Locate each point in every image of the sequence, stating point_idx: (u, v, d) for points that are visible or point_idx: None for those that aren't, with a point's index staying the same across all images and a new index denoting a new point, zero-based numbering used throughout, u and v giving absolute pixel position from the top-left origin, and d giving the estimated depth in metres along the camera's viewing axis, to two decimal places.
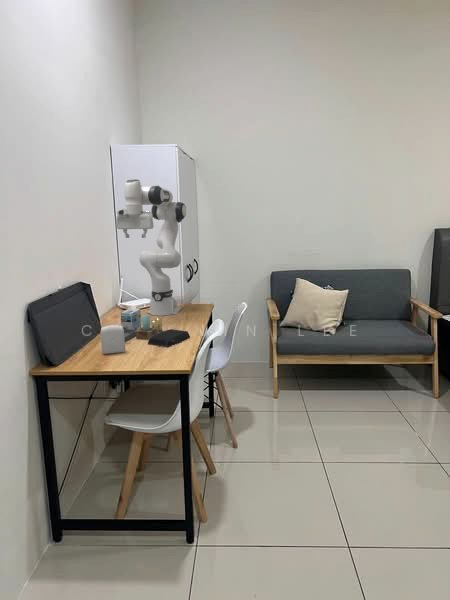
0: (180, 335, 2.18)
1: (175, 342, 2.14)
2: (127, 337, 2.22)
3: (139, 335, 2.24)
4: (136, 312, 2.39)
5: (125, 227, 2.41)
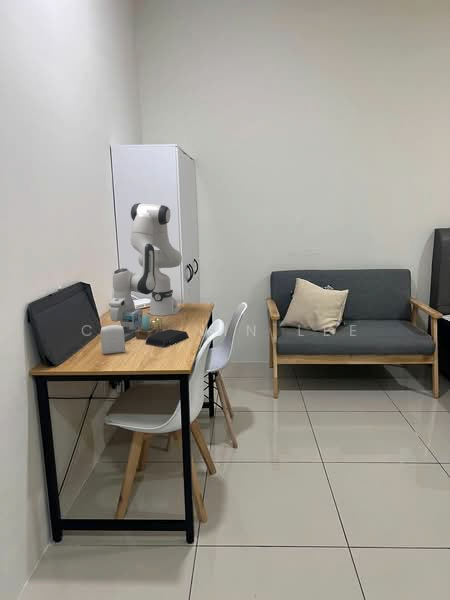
0: (178, 335, 2.18)
1: (172, 342, 2.14)
2: (127, 337, 2.22)
3: (139, 335, 2.24)
4: (138, 312, 2.38)
5: (122, 317, 2.34)
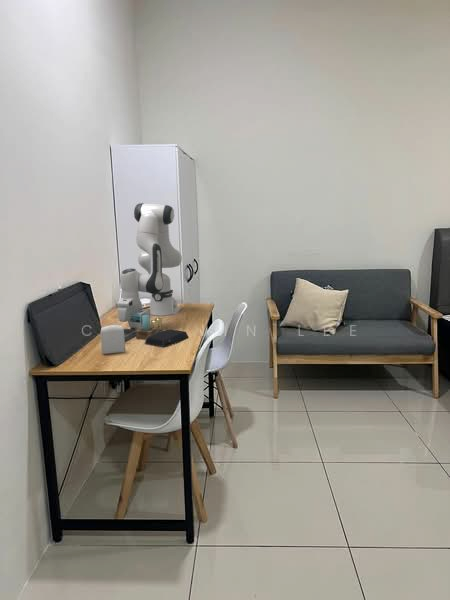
0: (177, 335, 2.18)
1: (172, 342, 2.14)
2: (127, 337, 2.22)
3: (139, 335, 2.24)
4: (146, 312, 2.37)
5: (130, 318, 2.33)
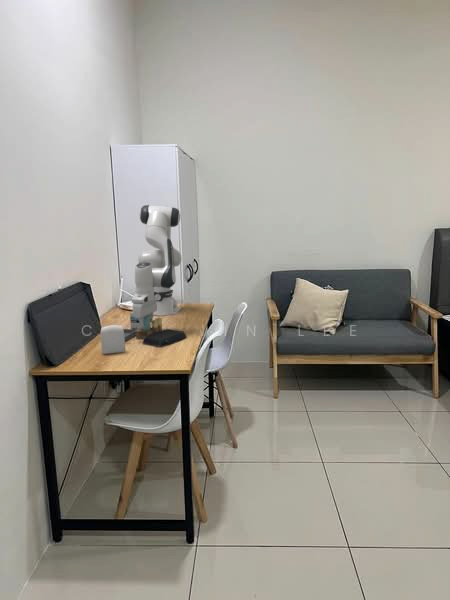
0: (175, 335, 2.18)
1: (169, 342, 2.14)
2: (127, 337, 2.22)
3: (139, 335, 2.24)
4: None
5: (145, 315, 2.20)
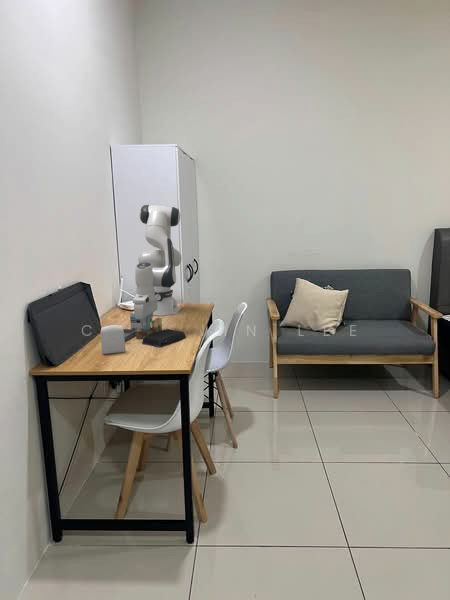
0: (175, 335, 2.18)
1: (169, 342, 2.14)
2: (127, 337, 2.22)
3: (139, 335, 2.24)
4: None
5: (146, 315, 2.21)
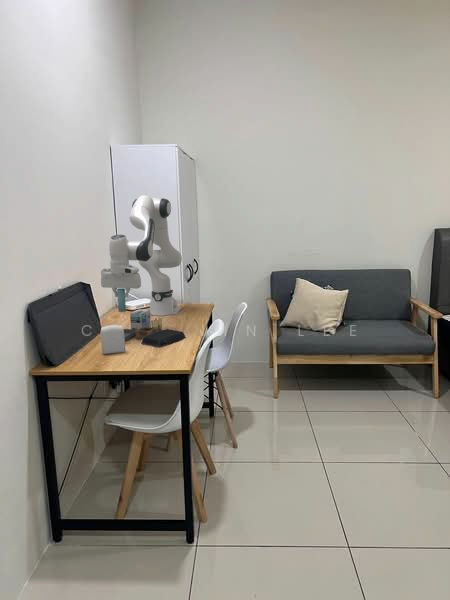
0: (174, 335, 2.18)
1: (168, 342, 2.14)
2: (127, 337, 2.22)
3: (139, 335, 2.24)
4: (146, 313, 2.37)
5: None
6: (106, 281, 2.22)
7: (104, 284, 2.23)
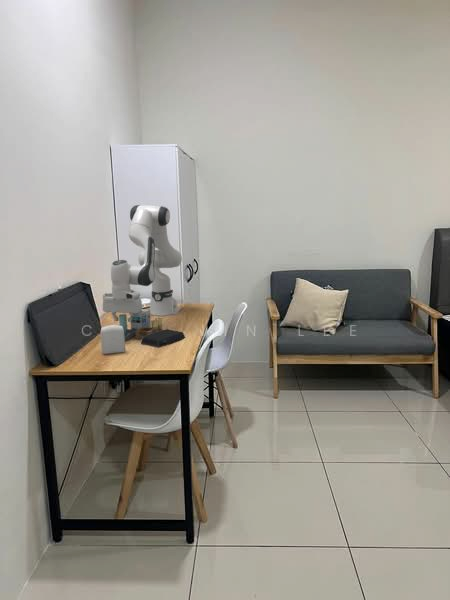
0: (173, 336, 2.18)
1: (167, 342, 2.14)
2: (127, 337, 2.22)
3: (139, 335, 2.24)
4: (146, 313, 2.37)
5: None
6: (108, 305, 2.25)
7: (106, 308, 2.25)
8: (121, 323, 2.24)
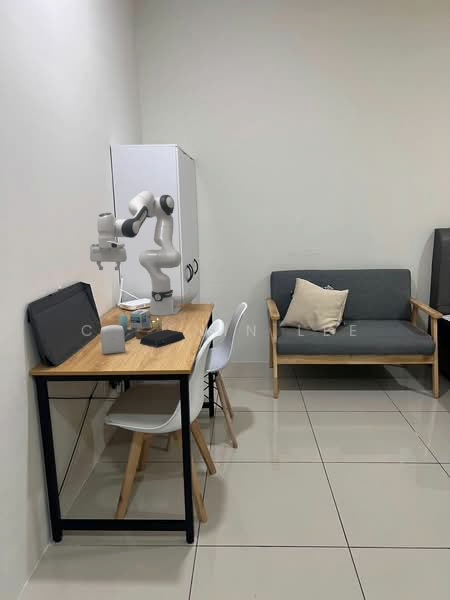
0: (173, 336, 2.17)
1: (166, 343, 2.13)
2: (127, 337, 2.22)
3: (139, 335, 2.24)
4: (146, 313, 2.37)
5: None
6: (95, 255, 2.43)
7: (93, 258, 2.43)
8: (121, 323, 2.24)
